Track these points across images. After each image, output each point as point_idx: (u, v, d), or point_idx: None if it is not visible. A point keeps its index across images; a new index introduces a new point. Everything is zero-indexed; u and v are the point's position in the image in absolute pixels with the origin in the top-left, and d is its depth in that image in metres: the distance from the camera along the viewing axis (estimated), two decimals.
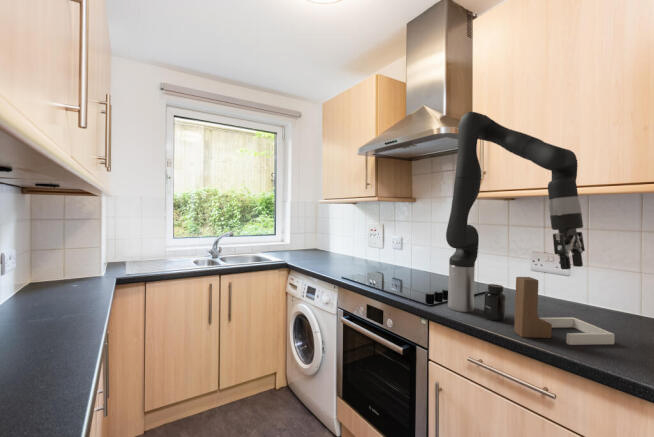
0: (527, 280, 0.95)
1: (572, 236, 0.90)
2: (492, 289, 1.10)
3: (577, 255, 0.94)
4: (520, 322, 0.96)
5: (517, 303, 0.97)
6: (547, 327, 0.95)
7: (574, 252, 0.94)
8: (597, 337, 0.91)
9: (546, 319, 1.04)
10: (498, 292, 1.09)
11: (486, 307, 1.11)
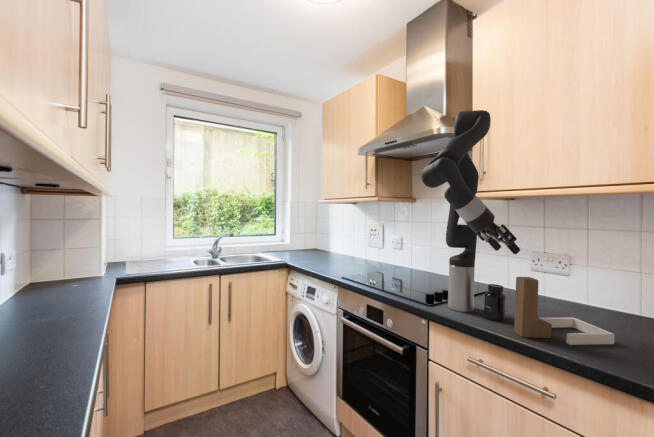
0: (527, 280, 0.95)
1: None
2: (492, 289, 1.10)
3: None
4: (520, 322, 0.96)
5: (517, 303, 0.98)
6: (547, 327, 0.95)
7: None
8: (597, 337, 0.91)
9: (546, 319, 1.04)
10: (498, 292, 1.09)
11: (486, 307, 1.11)
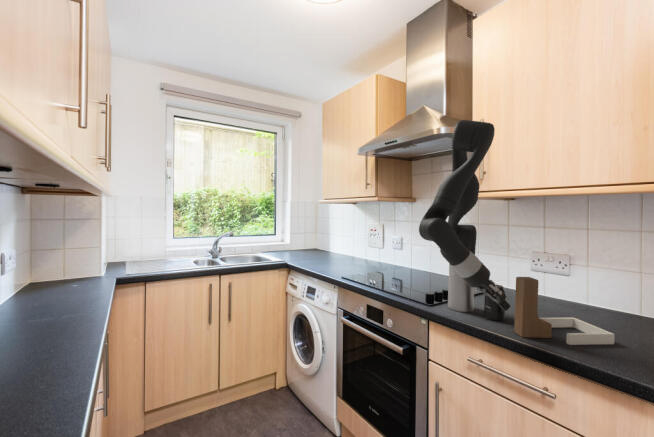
0: (527, 280, 0.95)
1: None
2: None
3: None
4: (520, 322, 0.96)
5: (517, 303, 0.98)
6: (547, 327, 0.95)
7: None
8: (597, 337, 0.91)
9: (546, 319, 1.04)
10: None
11: (486, 307, 1.11)
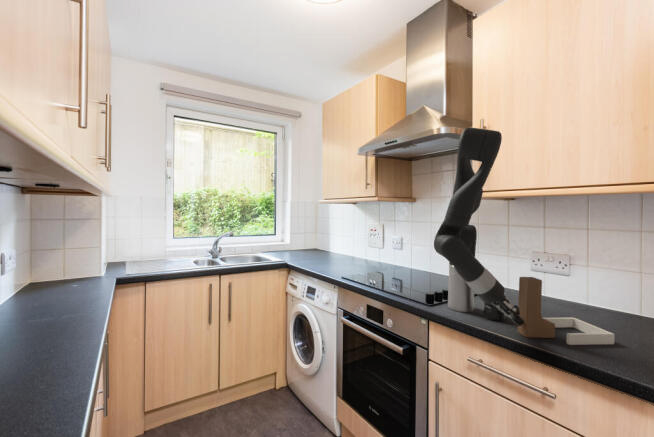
0: (531, 280, 0.95)
1: None
2: None
3: None
4: (524, 323, 0.96)
5: (521, 303, 0.97)
6: (550, 327, 0.95)
7: None
8: (597, 337, 0.91)
9: (546, 319, 1.04)
10: None
11: (486, 307, 1.11)
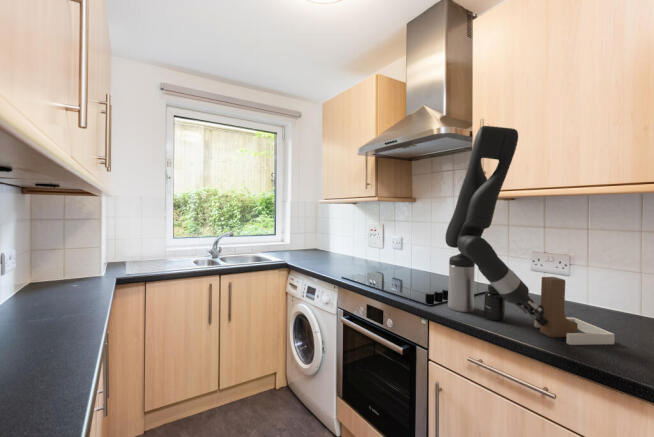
0: (555, 280, 0.95)
1: None
2: (492, 289, 1.10)
3: None
4: (548, 322, 0.96)
5: (544, 303, 0.98)
6: (573, 326, 0.96)
7: None
8: (597, 337, 0.91)
9: None
10: None
11: (486, 307, 1.11)
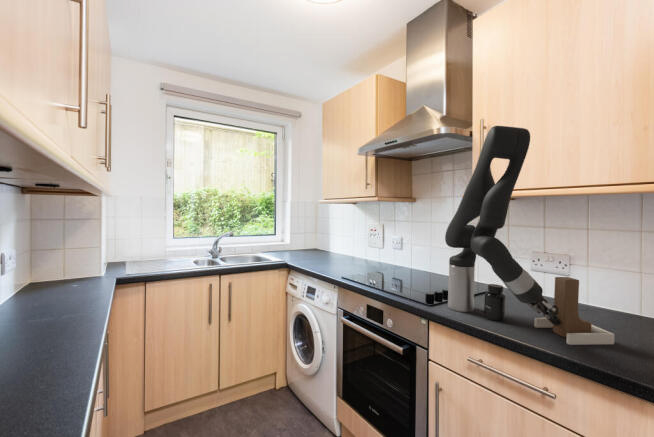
0: (568, 280, 0.95)
1: None
2: (492, 289, 1.10)
3: None
4: (561, 322, 0.97)
5: (557, 303, 0.98)
6: (587, 326, 0.96)
7: None
8: (597, 337, 0.91)
9: (546, 319, 1.04)
10: (498, 292, 1.09)
11: (486, 307, 1.11)
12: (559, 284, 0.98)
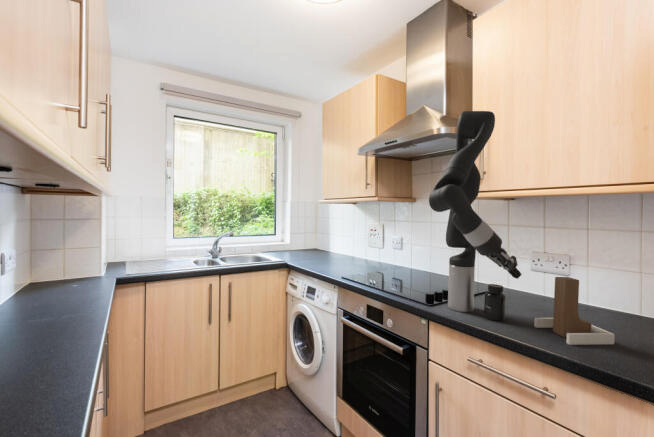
0: (568, 280, 0.95)
1: None
2: (492, 289, 1.10)
3: None
4: (561, 322, 0.97)
5: (557, 303, 0.98)
6: (587, 326, 0.96)
7: None
8: (597, 337, 0.91)
9: (546, 319, 1.04)
10: (498, 292, 1.09)
11: (486, 307, 1.11)
12: (559, 284, 0.98)
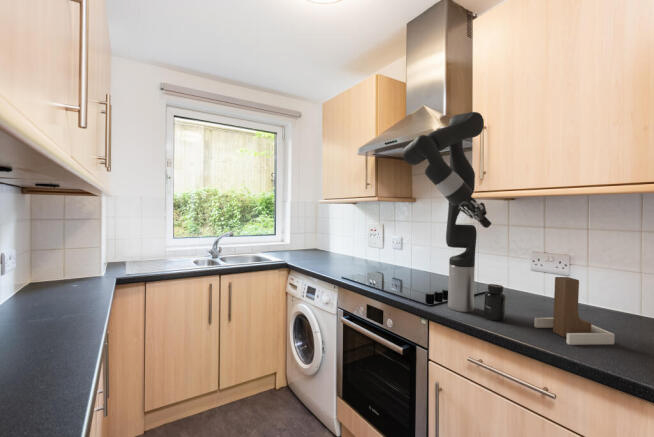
0: (568, 280, 0.95)
1: None
2: (492, 289, 1.10)
3: None
4: (561, 322, 0.97)
5: (557, 303, 0.98)
6: (587, 326, 0.96)
7: None
8: (597, 337, 0.91)
9: (546, 319, 1.04)
10: (498, 292, 1.09)
11: (486, 307, 1.11)
12: (559, 284, 0.98)
